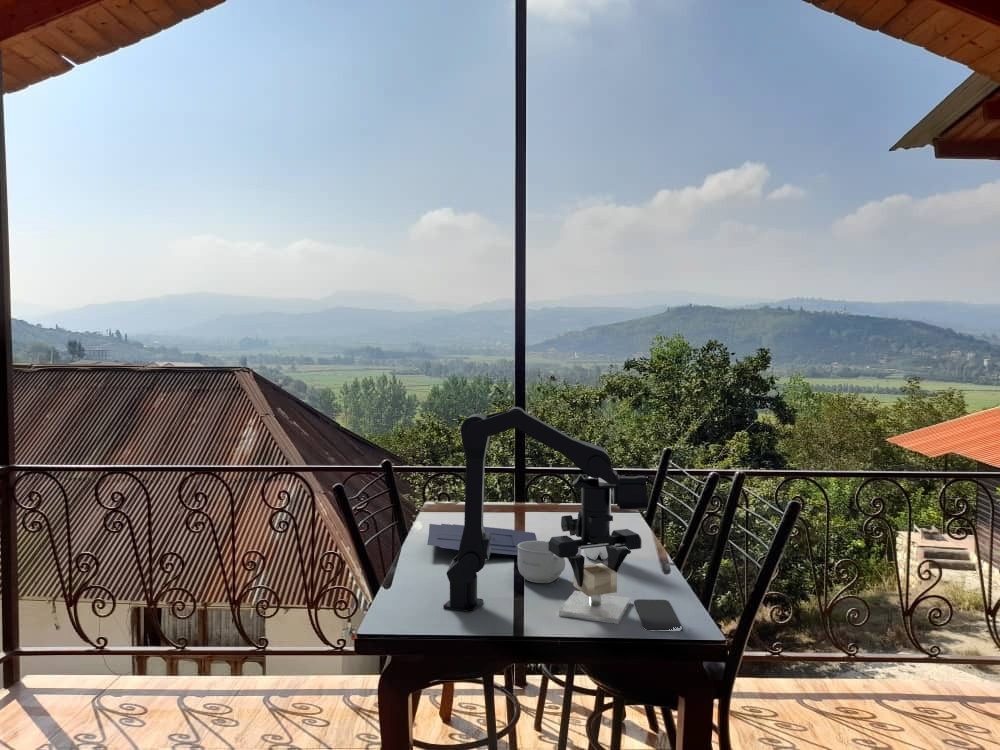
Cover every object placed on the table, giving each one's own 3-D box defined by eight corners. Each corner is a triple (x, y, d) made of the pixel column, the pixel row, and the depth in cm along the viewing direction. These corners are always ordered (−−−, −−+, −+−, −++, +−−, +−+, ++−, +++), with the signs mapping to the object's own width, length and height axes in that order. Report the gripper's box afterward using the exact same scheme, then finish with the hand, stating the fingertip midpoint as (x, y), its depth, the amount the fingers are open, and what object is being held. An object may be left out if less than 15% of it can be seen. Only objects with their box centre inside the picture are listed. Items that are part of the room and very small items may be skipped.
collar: (616, 592, 142) (617, 572, 142) (588, 596, 140) (588, 576, 139) (601, 582, 148) (601, 563, 148) (573, 585, 146) (573, 566, 146)
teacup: (510, 574, 165) (510, 541, 165) (552, 569, 169) (552, 536, 169) (534, 594, 152) (534, 558, 152) (578, 588, 156) (579, 552, 156)
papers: (428, 531, 198) (429, 518, 198) (533, 541, 201) (534, 529, 201) (425, 558, 174) (427, 543, 174) (544, 569, 177) (546, 555, 176)
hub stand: (618, 624, 136) (618, 592, 136) (558, 615, 141) (558, 585, 140) (630, 602, 147) (630, 573, 147) (574, 595, 152) (574, 566, 151)
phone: (644, 629, 133) (632, 599, 148) (644, 633, 133) (632, 603, 148) (684, 629, 133) (668, 599, 148) (683, 634, 133) (668, 603, 148)
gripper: (615, 497, 154) (615, 567, 155) (537, 503, 147) (537, 577, 148) (643, 508, 143) (642, 583, 144) (560, 516, 137) (560, 595, 138)
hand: (595, 584), depth 144 cm, fingers closed on collar, 6 cm apart
